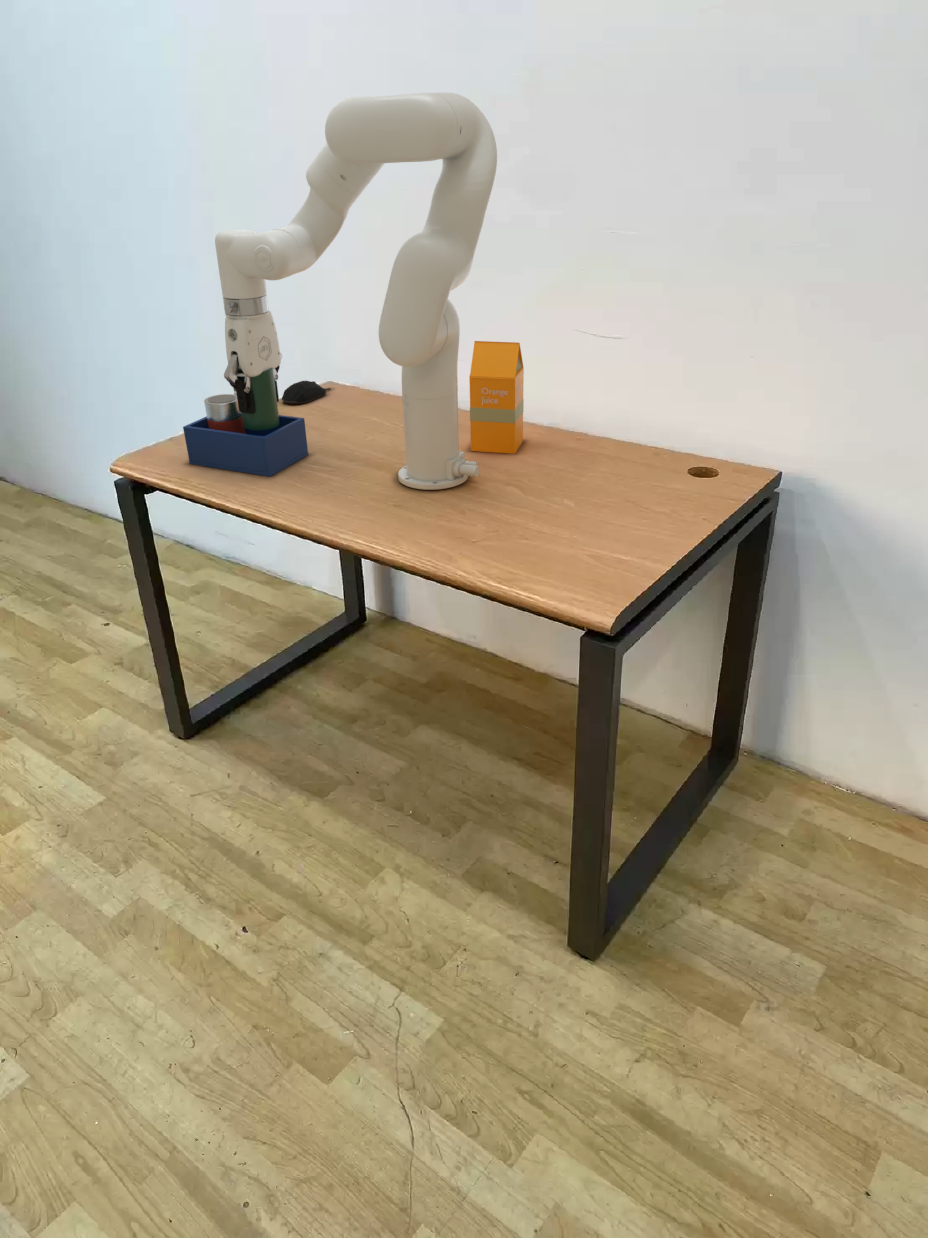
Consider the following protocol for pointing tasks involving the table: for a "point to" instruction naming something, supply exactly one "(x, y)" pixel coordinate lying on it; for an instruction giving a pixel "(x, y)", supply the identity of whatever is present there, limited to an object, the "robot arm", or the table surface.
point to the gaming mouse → (303, 392)
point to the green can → (262, 402)
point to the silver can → (224, 413)
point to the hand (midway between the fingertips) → (259, 406)
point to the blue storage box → (247, 446)
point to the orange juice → (496, 397)
